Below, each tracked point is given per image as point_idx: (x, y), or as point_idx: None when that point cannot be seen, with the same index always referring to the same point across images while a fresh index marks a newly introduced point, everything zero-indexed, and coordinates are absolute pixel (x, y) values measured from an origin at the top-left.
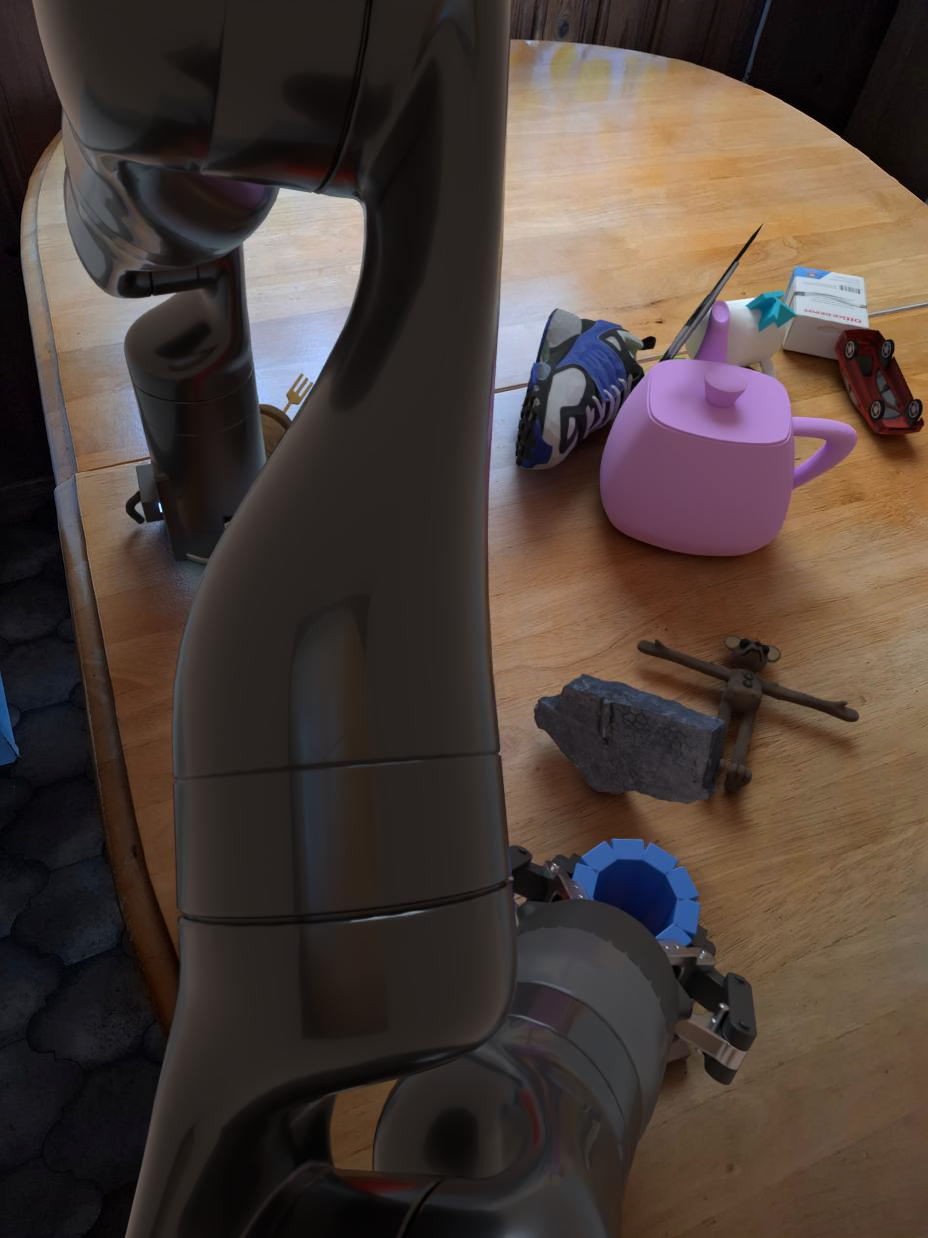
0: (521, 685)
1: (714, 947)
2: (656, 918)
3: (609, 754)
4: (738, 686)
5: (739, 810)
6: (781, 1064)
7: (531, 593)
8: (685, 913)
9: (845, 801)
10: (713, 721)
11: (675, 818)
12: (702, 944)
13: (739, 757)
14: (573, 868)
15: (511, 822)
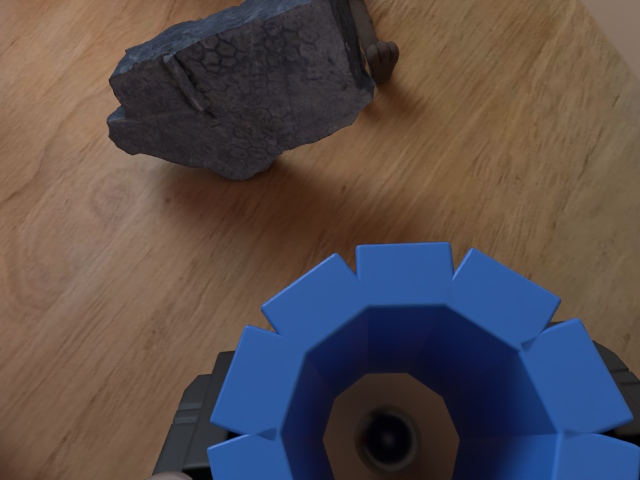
0: (95, 121)
1: (611, 354)
2: (454, 366)
3: (226, 128)
4: None
5: (404, 96)
6: (628, 337)
7: (49, 18)
8: (565, 375)
9: (496, 16)
10: None
11: (346, 150)
12: (626, 399)
13: (369, 39)
14: (221, 431)
15: (173, 282)
